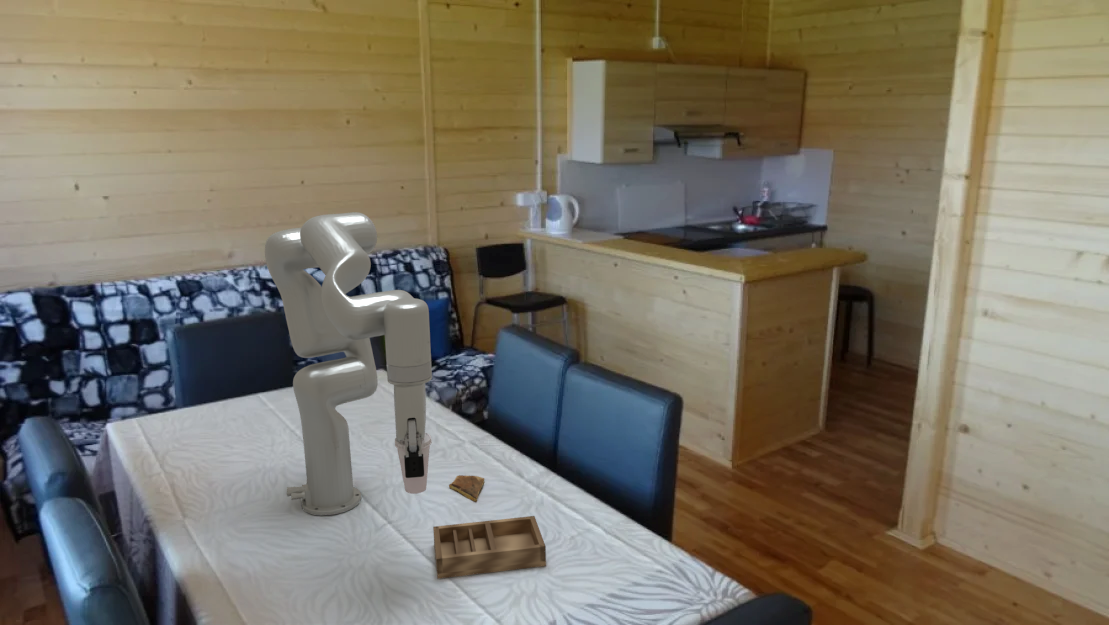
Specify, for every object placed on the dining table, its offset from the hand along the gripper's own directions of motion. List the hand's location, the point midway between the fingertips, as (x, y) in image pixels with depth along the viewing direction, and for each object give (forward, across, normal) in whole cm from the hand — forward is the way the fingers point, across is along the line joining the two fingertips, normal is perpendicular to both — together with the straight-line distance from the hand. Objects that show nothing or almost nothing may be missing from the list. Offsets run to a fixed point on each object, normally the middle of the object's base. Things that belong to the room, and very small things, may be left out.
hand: (414, 467), depth 140 cm
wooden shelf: (+22, -5, +13) cm, 26 cm away
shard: (+22, -34, +12) cm, 42 cm away
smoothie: (+4, 0, 0) cm, 4 cm away
